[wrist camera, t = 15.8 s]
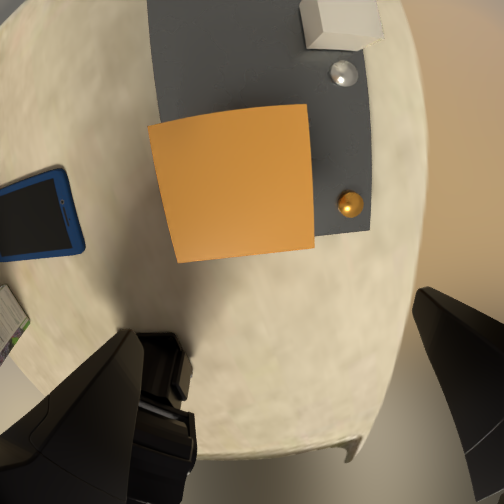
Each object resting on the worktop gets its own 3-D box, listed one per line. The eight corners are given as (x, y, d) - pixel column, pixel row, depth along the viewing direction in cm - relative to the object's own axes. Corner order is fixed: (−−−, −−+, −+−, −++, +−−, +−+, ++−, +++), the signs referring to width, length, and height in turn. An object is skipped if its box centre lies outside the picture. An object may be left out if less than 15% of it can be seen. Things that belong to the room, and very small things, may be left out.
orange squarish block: (194, 222, 17) (177, 263, 12) (176, 121, 14) (147, 126, 9) (296, 210, 17) (314, 248, 12) (287, 107, 14) (306, 104, 9)
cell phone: (-19, 197, 17) (-24, 200, 16) (68, 164, 17) (62, 166, 16) (1, 260, 20) (-3, 263, 20) (90, 250, 20) (86, 254, 19)
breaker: (306, 48, 12) (323, 32, 9) (298, 5, 10) (312, -20, 7) (357, 51, 12) (384, 38, 8) (349, 8, 10) (373, -12, 7)
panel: (192, 237, 19) (186, 254, 17) (154, -24, 10) (143, -37, 8) (359, 219, 19) (372, 232, 17) (330, -39, 10) (340, -53, 7)
